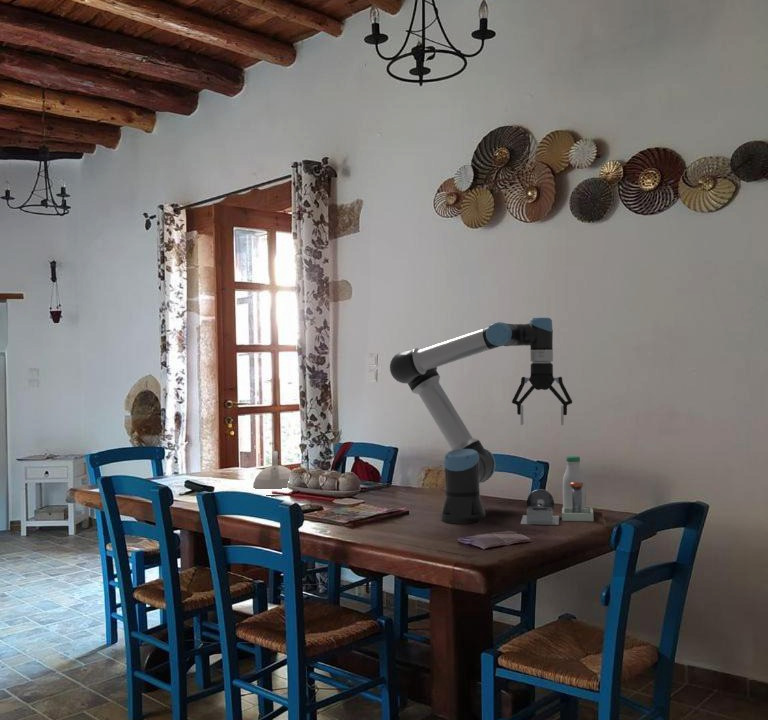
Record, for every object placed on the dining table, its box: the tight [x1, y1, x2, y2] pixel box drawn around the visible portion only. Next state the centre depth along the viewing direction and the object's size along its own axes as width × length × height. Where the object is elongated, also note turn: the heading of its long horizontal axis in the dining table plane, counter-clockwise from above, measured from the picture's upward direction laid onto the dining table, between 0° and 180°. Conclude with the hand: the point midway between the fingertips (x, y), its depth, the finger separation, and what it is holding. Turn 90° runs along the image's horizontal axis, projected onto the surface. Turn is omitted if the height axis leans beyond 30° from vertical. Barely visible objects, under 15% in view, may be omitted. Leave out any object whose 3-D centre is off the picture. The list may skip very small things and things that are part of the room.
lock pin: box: [570, 482, 583, 513], centre depth 265 cm, size 4×4×12 cm
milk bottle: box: [562, 455, 587, 508], centre depth 278 cm, size 8×8×20 cm
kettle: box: [252, 450, 292, 489], centre depth 346 cm, size 20×21×18 cm
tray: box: [561, 507, 594, 522], centre depth 265 cm, size 10×10×4 cm
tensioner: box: [520, 488, 560, 526], centre depth 263 cm, size 12×15×10 cm
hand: (542, 424), depth 274 cm, fingers open, 13 cm apart
